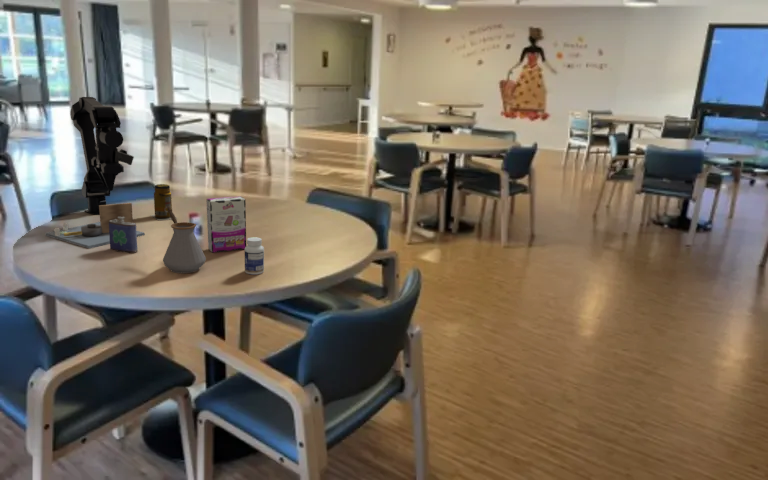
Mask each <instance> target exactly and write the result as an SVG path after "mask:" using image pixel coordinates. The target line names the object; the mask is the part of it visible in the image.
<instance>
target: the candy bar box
mask: <svg viewBox="0 0 768 480" xmlns="http://www.w3.org/2000/svg"><path fill="white" fill-rule="evenodd" d="M246 204H247V203H246V199H245V198H244V197H243V196H223V197H213V198H212V197H211V198H206V221H207V222H206V223H207V224H206V225H207V228H206V229H207V244H208V245H207V247H208V250H209V251H210V252H211V253H222V252H229V251H238V250H245V247H246V246H247V223H246V222H247V221H246V220H247V215H246V214H247V212H246V211H247V210H246V208H247V207H246Z"/></svg>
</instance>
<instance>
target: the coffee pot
mask: <svg viewBox="0 0 768 480" xmlns="http://www.w3.org/2000/svg"><path fill="white" fill-rule="evenodd" d="M166 208H167V209H168V211H166V212H169V213H170V217H171V219H170V220H172V222H173V223H171V225H170V228H172V232H173V234H172V236H171V239H170V241H169V243H168V247H167V249H166V251H165V253H164V256H163V259H162V262H163V265H164V266H165V267H166V268H167V269H169V270H170V271H171V272H173V273H175V274H190V273H194V272H197V271H199V270H200V268H201V267H202V266H204V265H205V262H206V260H207V257H206V256H205V254H204V252H203V251H204V250H203V249H202V247H201V246H200V242H199V241H198V239H197V237H196V235H195V233H194V230H195V228H196V226H197V224H196V223H194V222H188V221H186V222H184V221H183V222H182V221H181V222H178V219H176V218H177V217H176V216H175V214H174V212H173V206H172V207H169V206H167V207H166ZM171 208H172V210H171ZM164 210H165V209H164ZM175 217H176V218H175Z"/></svg>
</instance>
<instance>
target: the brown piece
mask: <svg viewBox="0 0 768 480" xmlns="http://www.w3.org/2000/svg"><path fill="white" fill-rule="evenodd" d="M132 205H133V204H132V202H126V203H125V202H124V203H110V204H106V205H99V212H100V214H99V222H100V225H101V226H100V225H96V224H91V223H88V225H86V224H85V225H86V226H83V227H81V231H78V232H68V233H64V236H71V235H80V234H82V235H83V236H98V235H101V234H102V233H108V232H109V221H110V220H115V219H116V220H119V219H118V217H125V218H124V222H129V223H134V221H133V219H134V218H133V206H132Z"/></svg>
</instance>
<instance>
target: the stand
mask: <svg viewBox="0 0 768 480" xmlns="http://www.w3.org/2000/svg"><path fill="white" fill-rule="evenodd" d="M88 224H89V223H88ZM88 224H87V223H86V224H82V225H77V226H73V227H69V224H68V223H65V222H64V223H62V229H60V228H59V227H54V229H53V230H52V231H48V232H45V237H46V236H47V237H50V238H53V239H57V240H60V241H63V242H66V243H70V244H74V245H77V246H79V247H83V248H87V249H93V248H97V247H101V246H106V245H110V234H109V232H108V233H102V234H101V235H98V236H83V235H82V234H80V235H71V236H64V233H68V232H78V231H81V227H83V226H86V225H88ZM90 224H96V225H100V221H98V222H92V223H90ZM100 226H101V225H100ZM136 235H137V238H138V236H139V237H142V235H143V236H145V232H143V231H140V230H136Z"/></svg>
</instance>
